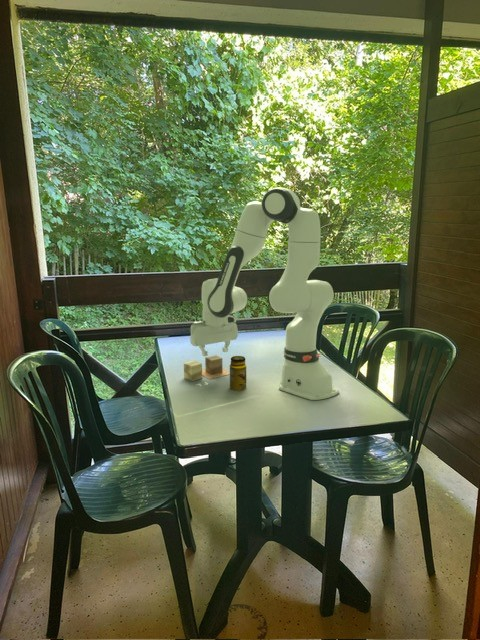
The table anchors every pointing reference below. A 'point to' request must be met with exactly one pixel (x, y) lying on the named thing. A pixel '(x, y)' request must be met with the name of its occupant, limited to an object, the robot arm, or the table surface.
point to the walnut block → (213, 365)
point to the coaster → (214, 374)
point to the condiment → (238, 373)
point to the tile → (201, 385)
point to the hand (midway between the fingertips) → (215, 353)
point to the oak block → (192, 370)
